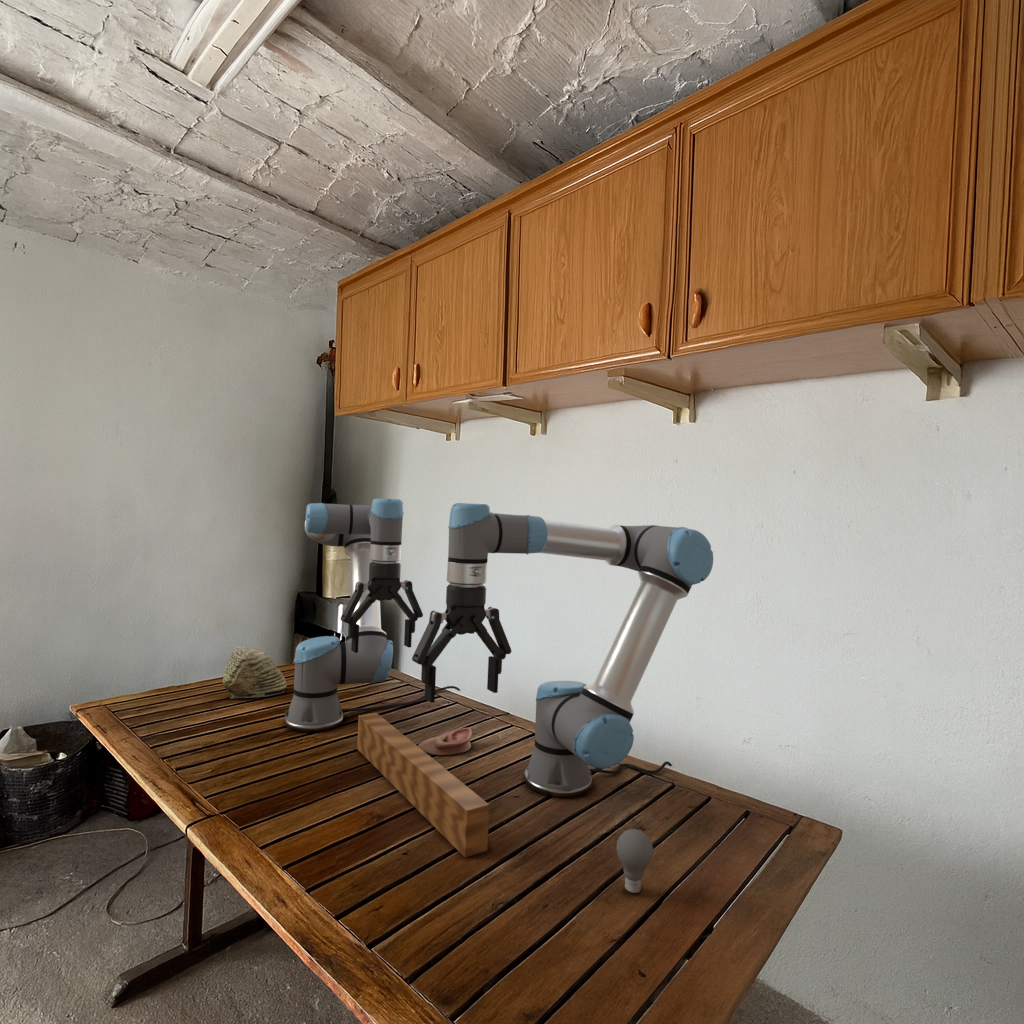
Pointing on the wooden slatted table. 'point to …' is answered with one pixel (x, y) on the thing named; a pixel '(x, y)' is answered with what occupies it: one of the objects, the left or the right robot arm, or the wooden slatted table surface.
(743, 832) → the wooden slatted table surface
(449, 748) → the anatomical model
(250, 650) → the fossil
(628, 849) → the light bulb
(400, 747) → the post
